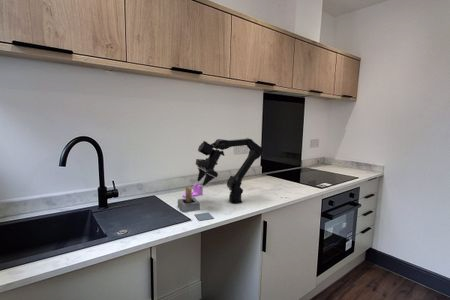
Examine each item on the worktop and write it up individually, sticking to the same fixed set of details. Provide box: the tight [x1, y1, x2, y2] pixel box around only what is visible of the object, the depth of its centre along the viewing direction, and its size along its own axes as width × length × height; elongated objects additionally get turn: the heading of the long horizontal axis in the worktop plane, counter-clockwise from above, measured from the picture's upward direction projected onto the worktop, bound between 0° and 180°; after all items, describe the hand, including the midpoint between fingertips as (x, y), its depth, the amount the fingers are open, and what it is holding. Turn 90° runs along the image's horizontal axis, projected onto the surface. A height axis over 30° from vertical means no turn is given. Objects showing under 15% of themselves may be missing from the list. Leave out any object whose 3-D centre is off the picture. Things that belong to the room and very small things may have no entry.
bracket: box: [182, 183, 204, 199], centre depth 159 cm, size 13×6×7 cm, turn 129°
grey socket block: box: [177, 197, 201, 213], centre depth 138 cm, size 10×10×4 cm
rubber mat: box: [194, 212, 215, 222], centre depth 127 cm, size 8×8×1 cm
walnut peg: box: [185, 186, 193, 203], centre depth 138 cm, size 5×5×12 cm
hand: (200, 183), depth 139 cm, fingers open, 9 cm apart
